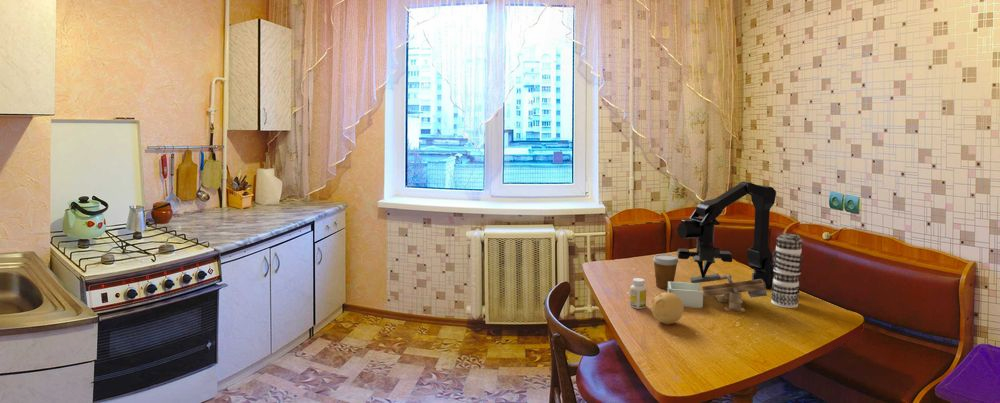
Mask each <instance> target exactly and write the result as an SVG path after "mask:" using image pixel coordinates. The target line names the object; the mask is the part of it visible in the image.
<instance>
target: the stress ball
mask: <svg viewBox="0 0 1000 403" xmlns="http://www.w3.org/2000/svg"><path fill="white" fill-rule="evenodd" d="M684 308H685V307H683V303H682V301H681V300H680V298H679V297H678V296H676V295H675V294H673V293H668V292H665V291H664V292H660V293H657V294H655V297H654V298H653V299H652V300H651V307H650V310H651V313H652V315H653V316H654V318H655V319H656V320H657V321H658V322H661V323H662V324H663V325H671V324H675V323H676V322H678V321H679V320H680V319H681V318H682V316H683V314H684V310H685V309H684Z"/></svg>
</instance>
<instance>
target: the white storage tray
mask: <svg viewBox="0 0 1000 403" xmlns="http://www.w3.org/2000/svg"><path fill="white" fill-rule="evenodd" d="M666 291H667V292H668V293H673V294H675V295H676V296H678V297H679V298H680V300H681V301H682V303H683V307H684V308H693V309H695V308H696V309H703V304H704V293H703V290H701V283H691V282H683V281H674V282H671V281H668V289H666Z"/></svg>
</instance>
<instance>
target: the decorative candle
mask: <svg viewBox="0 0 1000 403" xmlns="http://www.w3.org/2000/svg"><path fill="white" fill-rule="evenodd" d="M803 242H804V239H802V238H801V236H800V235H798V234H796V233H789V232H784V233H781V234H779V235H778V236H777V237H776V245H775V248H773V252H772V256H774V257H772V260H773V265H774V266H775V267H774V268H773V271H774V272H775V274H773V283H772V286H773V287H772V289H771V290H772V291H771V292H770V299H771V300H770V301H771V302H770V303H771V304H773V305H774V306H776V307H779V308H790V309H791V308H792V309H793V308H795V309H796V308H797V307H798V306H799V302H800V301H799V299H800V296H799V294H800V289H801V288H800V287H801V286H800V281H799V279H800V275H801V273H802V270H801V269H802V268H803V266H802V265H801V264H802V263H803V258H804V256H803V255H802V250H803V248H802V245H803V244H802V243H803Z"/></svg>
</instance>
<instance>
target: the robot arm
mask: <svg viewBox="0 0 1000 403" xmlns="http://www.w3.org/2000/svg"><path fill="white" fill-rule="evenodd" d="M747 195H749V196H750V200H751V203H752V205H753V207H754V227H753V228H754V231H753V245H752V246H751V247H750V248H748V249H747V250H746V253H747V256H746V260H747V262H748V264H749V268H750V269H751V270H753V272H752V273H751V280H757V279H762V280H763V281H764V283H765V285H766V290H767V289H769V290H772V287H773V285H772V283H773V282H774V275H775V272H774V271H773V268H774V267H775V266H774V265H773V262H774V261H773V260H774V259H773V252H772V251H771V249H770V247H769V234H770V233H769V232H770V216H771V214H770V212H771V208H772V207H773V206H774V204H775V202H776V197H777V191H776V189H775V188H774V187H772V186H767V185H760V184H754V183H752V182H749V181H743V180H742V181H739V182H738V183H737V185H735V186H732V188H730V189H729V190H726V191H725V192H724V193H721V194H720V195H719V196H717V197H715V198H713V199H712V198H711V199H706V200H704V201H702V202H699V203H698V204H697V205H696V208H695V210H694V211H693V213H691V215H690V217H689V219H681V222H680V223H679V224H678V227H677V231H676V232H677V235H678V237H679V238H680V239H696V249H695V250H696V251H690V249H689V248H680V247H679V248H678V249H677V251H676V252H677V253H676V257H677V259H678V260H688V259H689V258H691V257H692V259H693V261H694V262H695V263H697V265H698V268H699V271H700V276H702V277H703V278H704V277H705V275H707V273H708V270H709V268H710V266H711V265H712V264H716V259H720V260H721V261H722V262H724V263H732V262H733V258H734V257H733V254H732V253H731V252H730V251H728V250H721V248H720V247H714V241H715V240H714V239H715V226H720V225H721V223H720V222H719V221H718V220H717V218H718V217H719V216H721V214H722V213H723V211H724V209H725V208H727V207H729V206H730V205H732V204H733V203H735V202H737V201H738V200H740V199H742V198H743V197H745V196H747Z"/></svg>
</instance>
